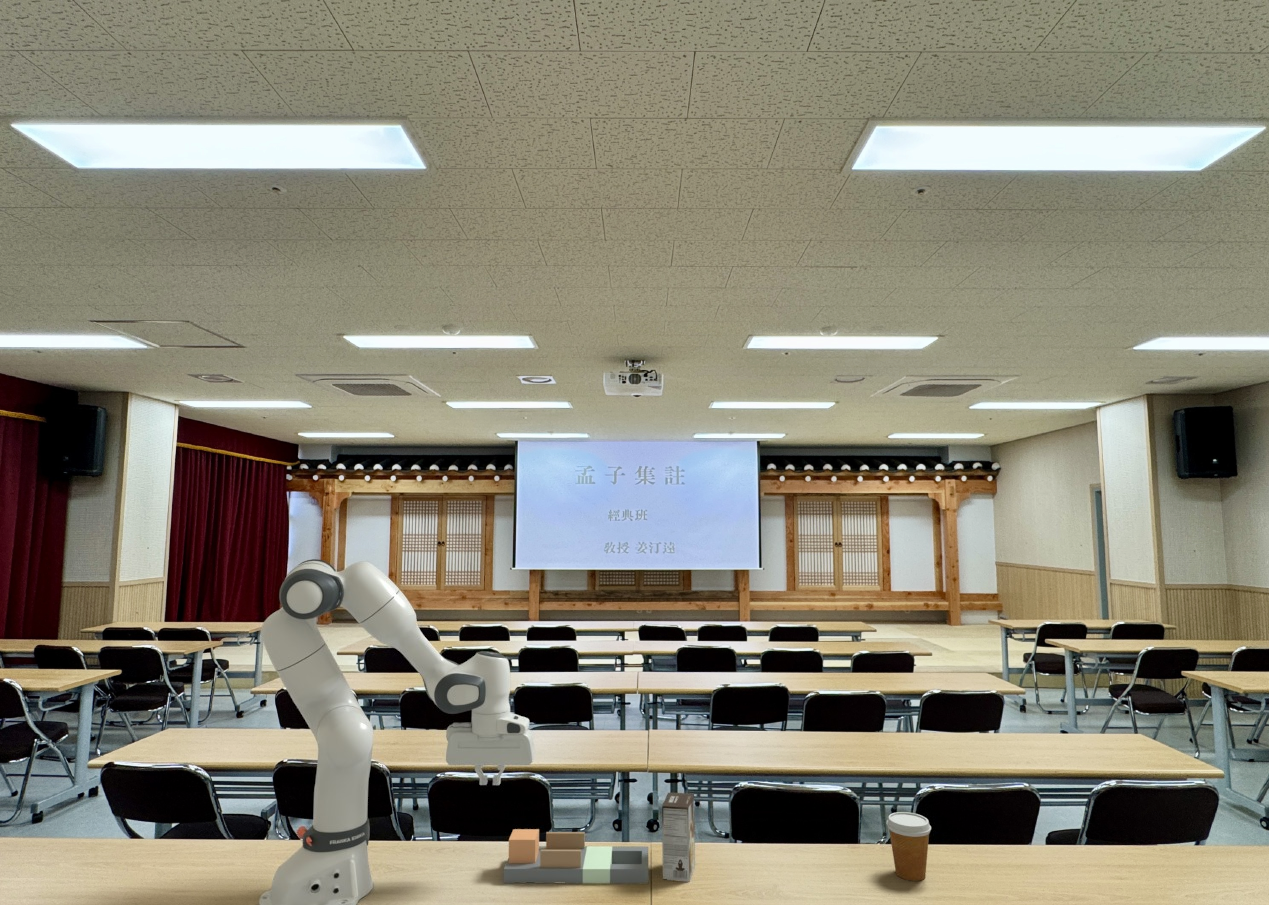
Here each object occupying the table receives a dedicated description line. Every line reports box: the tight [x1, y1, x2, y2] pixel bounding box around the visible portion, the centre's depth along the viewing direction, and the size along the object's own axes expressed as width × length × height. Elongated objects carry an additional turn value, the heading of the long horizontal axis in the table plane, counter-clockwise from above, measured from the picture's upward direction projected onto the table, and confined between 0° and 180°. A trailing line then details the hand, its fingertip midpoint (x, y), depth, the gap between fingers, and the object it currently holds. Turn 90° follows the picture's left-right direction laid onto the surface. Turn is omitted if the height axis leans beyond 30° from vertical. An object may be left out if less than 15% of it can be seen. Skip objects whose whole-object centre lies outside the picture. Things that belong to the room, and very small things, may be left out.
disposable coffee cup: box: [886, 811, 932, 882], centre depth 171 cm, size 10×10×12 cm
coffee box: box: [661, 792, 696, 883], centre depth 173 cm, size 9×6×16 cm
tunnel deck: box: [503, 831, 650, 884], centre depth 174 cm, size 32×12×6 cm, turn 89°
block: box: [508, 828, 540, 863], centre depth 174 cm, size 6×6×5 cm
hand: (490, 784), depth 176 cm, fingers closed
